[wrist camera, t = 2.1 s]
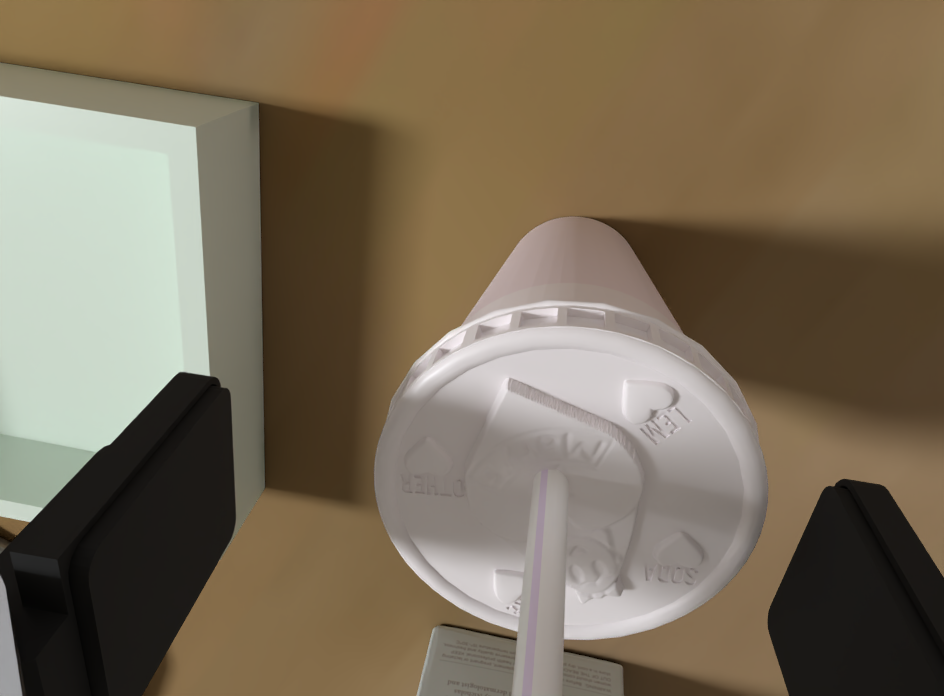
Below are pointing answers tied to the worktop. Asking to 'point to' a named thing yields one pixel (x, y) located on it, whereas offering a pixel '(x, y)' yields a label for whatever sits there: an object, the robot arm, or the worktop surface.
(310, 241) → the worktop surface
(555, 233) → the smoothie
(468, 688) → the supplement box
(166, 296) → the bin
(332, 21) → the worktop surface
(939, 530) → the worktop surface
